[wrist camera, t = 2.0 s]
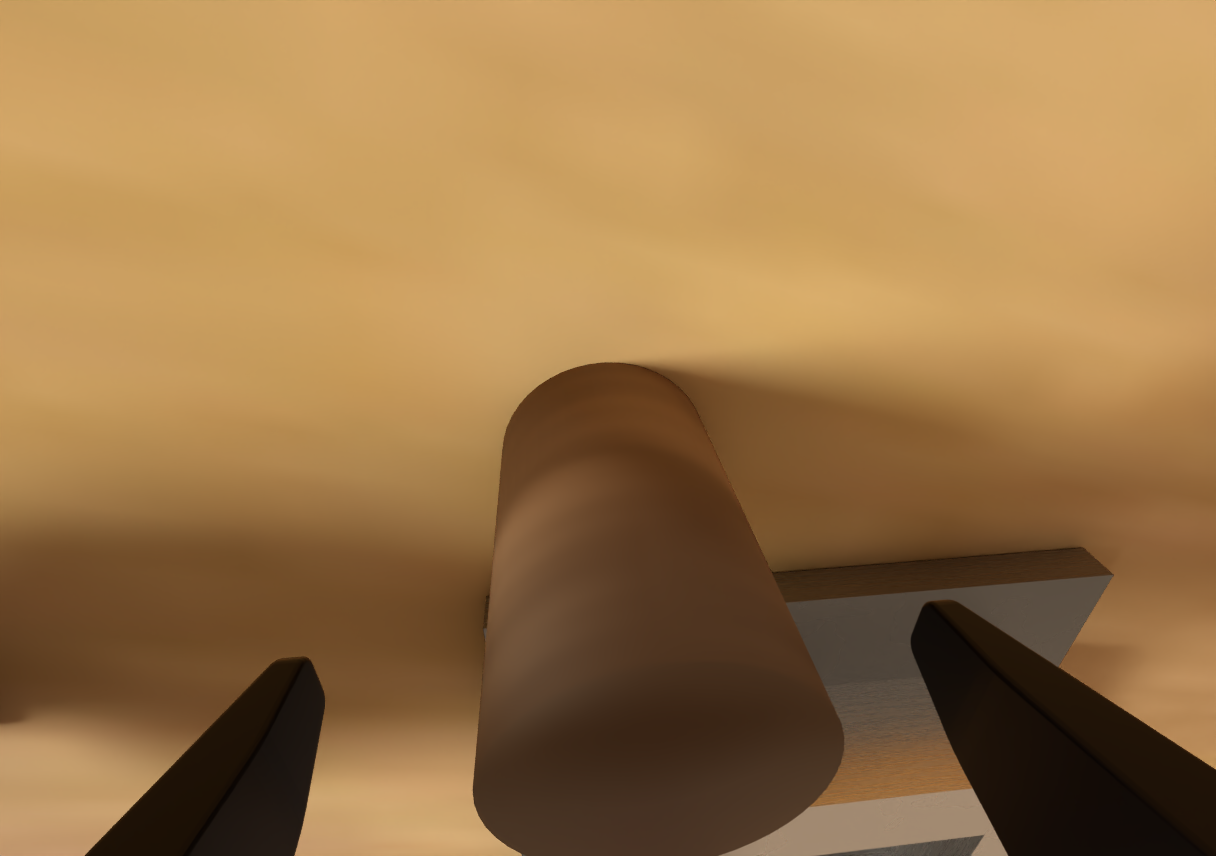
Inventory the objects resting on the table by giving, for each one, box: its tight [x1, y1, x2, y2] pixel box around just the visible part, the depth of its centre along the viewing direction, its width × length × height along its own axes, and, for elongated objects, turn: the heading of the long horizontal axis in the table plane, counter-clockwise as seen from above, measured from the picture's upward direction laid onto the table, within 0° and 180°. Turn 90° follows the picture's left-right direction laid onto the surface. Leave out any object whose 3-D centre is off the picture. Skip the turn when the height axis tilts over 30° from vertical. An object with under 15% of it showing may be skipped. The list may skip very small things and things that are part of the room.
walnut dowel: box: [473, 363, 844, 856], centre depth 10 cm, size 4×4×7 cm
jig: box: [483, 548, 1113, 856], centre depth 18 cm, size 16×18×4 cm
